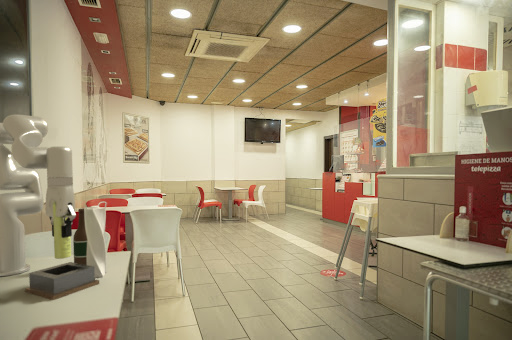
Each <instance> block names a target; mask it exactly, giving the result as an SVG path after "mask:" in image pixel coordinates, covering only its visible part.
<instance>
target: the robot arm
mask: <svg viewBox="0 0 512 340" xmlns="http://www.w3.org/2000/svg"><path fill="white" fill-rule="evenodd" d="M48 131H49V125H48V123H47V121H46V120H45V119H44V118H42V117H41V116H34V115H27V114H26V115H25V114H18V113H17V114H9V115H7V116H6V117H4V119H3V120H2V122H0V191H15V192H5V193H0V277H6V276H8V277H9V276H13V275H18V274H22V273H25V272H27V271H29V270H30V269H31V265H30V264H26V263H27V261H26V230H25V225H24V223H23V222H22V221H21V220H20V219H19V218H18V217H20V216H28V215H36V214H38V213H39V214H40V212H42V211H43V209H44V207H45V216H47V217H48V218H49V220H50V224H51V236H52V237H53V238H54V222H53V202H54V201H55V205H56V217H61V219H62V224H63V226H61V232H62V238H65V237H70V236H71V237H72V235H73V231H72V229H73V228H72V227H73V226H72V225H73V221H74V219H76V217H77V214H76V199H75V193H74V192H75V191H74V175H73V174H74V173H73V150H72V149H71V147H69V146H48V147H47V146H40V145H41V144H42V142H43V139H44V138H45V137H46V136H47V134H48V133H49V132H48ZM5 145H11V150H10V149H9V148H8V147H7V146H5ZM16 162H17V163H16ZM17 164H18V165H20V166H18V165H17ZM38 169H39V170H45V169H46V180H47V182H46V183H47V184H46V186H47V188H46V192H45V203H44V195H43V190H42V182H41V178H40V175H39V173H38V171H37V170H38ZM18 190H24V191H20V192H19V191H18ZM16 191H18V192H16ZM44 204H45V205H44ZM66 214H68V216H64V215H66ZM65 218H67V219H66V220H65Z"/></svg>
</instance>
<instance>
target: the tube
mask: <svg viewBox="0 0 512 340" xmlns="http://www.w3.org/2000/svg"><path fill="white" fill-rule="evenodd" d="M64 216H68V214H66V215H64ZM66 219H67V218H65V220H66ZM53 222H54V237H53V244H54V245H53V246H54V259H56V260H58V259H59V260H61V259H62V260H63V259H67V258H69V257H72V238H71V237H72V236H70V237H65V238H62V232H61V226H63V224H62V219H61V217H56V205H55V201H54V202H53Z"/></svg>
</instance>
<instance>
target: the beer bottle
mask: <svg viewBox="0 0 512 340" xmlns="http://www.w3.org/2000/svg"><path fill="white" fill-rule="evenodd" d="M84 208H85V207H84ZM84 208H83V207H82V208H78V210H77V212H78V223H77V229H76V230H75V232H74V235H73V238H72V239H73V241H72V242H73V243H72V244H73V263H78V264H83V265H87V235H86V229H85V217H84ZM86 209H88V208H86Z"/></svg>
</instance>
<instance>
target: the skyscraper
mask: <svg viewBox="0 0 512 340" xmlns="http://www.w3.org/2000/svg"><path fill="white" fill-rule="evenodd" d="M102 203H105V205H104V207H100V204H102ZM107 205H108V202H106V200H105V201H104V200H103V201H100V202H99V203H98V204H97V205H92V206H85V207H84V217H85V229H86V235H87V265H89V266H94V269H95V278H103V277H104V276H105V274H106V273H107V252H106V251H107V250H106V249H107V248H106V241H105V237H104V236H105V231H106V222H107V221H106V219H107V215H106V214H107V213H106V212H107ZM86 208H87V209H86Z"/></svg>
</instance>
